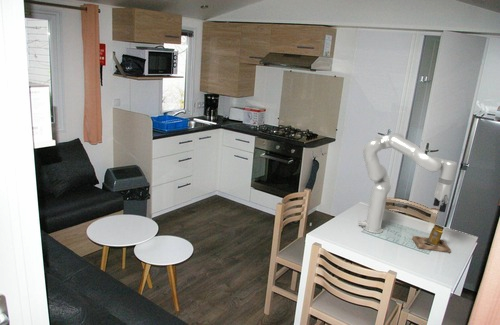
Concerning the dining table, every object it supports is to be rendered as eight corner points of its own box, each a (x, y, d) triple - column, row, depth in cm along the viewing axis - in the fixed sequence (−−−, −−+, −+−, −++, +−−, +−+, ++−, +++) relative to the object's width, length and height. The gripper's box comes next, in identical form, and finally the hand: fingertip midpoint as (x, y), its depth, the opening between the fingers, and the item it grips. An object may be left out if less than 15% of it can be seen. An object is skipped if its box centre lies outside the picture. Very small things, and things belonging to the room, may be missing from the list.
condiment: (440, 246, 237) (447, 228, 236) (433, 245, 232) (440, 227, 231) (429, 241, 243) (436, 223, 241) (422, 240, 238) (429, 222, 236)
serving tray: (418, 248, 233) (419, 244, 232) (412, 239, 245) (412, 235, 244) (449, 252, 231) (450, 249, 231) (441, 243, 244) (442, 239, 243)
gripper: (433, 176, 237) (427, 202, 241) (444, 184, 220) (437, 213, 224) (446, 178, 236) (440, 204, 240) (458, 186, 219) (450, 215, 224)
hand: (438, 208), depth 232 cm, fingers open, 9 cm apart
